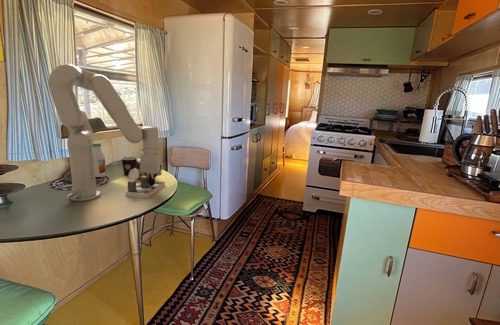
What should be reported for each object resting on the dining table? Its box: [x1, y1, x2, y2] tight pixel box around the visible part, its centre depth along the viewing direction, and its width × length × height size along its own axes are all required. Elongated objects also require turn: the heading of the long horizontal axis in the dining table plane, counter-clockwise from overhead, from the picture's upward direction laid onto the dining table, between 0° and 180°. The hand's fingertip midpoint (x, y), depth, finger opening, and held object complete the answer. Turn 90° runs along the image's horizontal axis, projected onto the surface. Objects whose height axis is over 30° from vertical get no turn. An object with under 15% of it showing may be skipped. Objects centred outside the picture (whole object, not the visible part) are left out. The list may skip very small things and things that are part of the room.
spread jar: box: [128, 158, 152, 181], centre depth 159 cm, size 12×11×12 cm
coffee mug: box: [121, 156, 138, 176], centre depth 167 cm, size 12×9×10 cm
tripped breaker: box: [139, 176, 148, 187], centre depth 141 cm, size 3×3×5 cm
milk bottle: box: [93, 142, 107, 178], centre depth 158 cm, size 8×8×20 cm
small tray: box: [125, 174, 165, 199], centre depth 141 cm, size 20×11×7 cm, turn 172°
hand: (151, 185), depth 141 cm, fingers closed
